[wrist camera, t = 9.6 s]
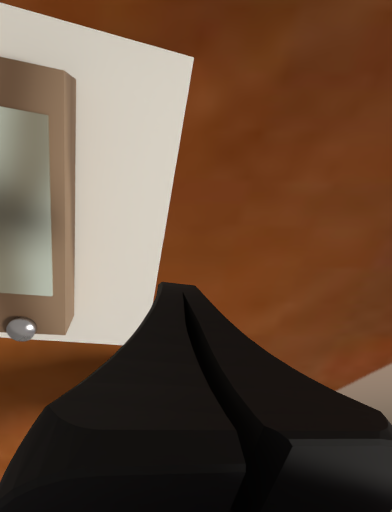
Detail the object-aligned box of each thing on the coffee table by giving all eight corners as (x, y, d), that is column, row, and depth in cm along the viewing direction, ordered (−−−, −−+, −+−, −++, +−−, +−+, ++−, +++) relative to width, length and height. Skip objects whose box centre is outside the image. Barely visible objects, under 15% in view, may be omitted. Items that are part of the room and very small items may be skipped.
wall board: (191, 61, 16) (194, 57, 15) (145, 338, 23) (145, 347, 22) (-144, -33, 13) (-169, -47, 12) (-77, 322, 20) (-89, 332, 19)
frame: (76, 79, 15) (61, 68, 12) (74, 318, 20) (63, 343, 18) (-31, 56, 14) (-70, 40, 11) (-2, 314, 19) (-24, 339, 17)
